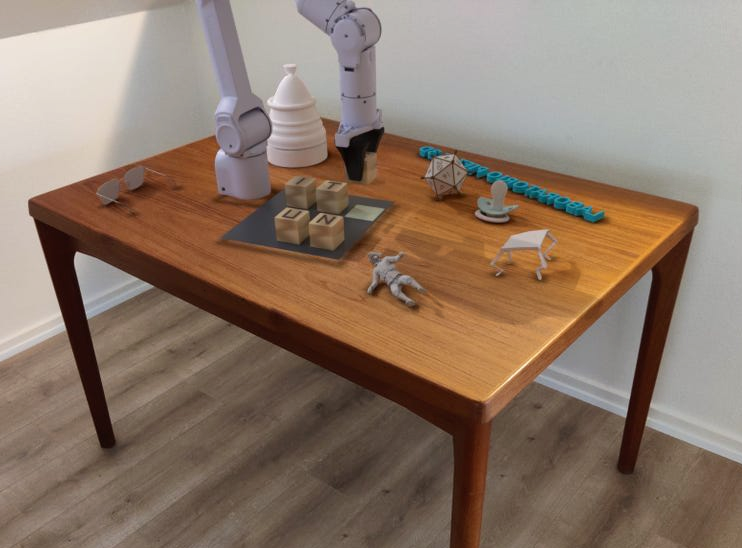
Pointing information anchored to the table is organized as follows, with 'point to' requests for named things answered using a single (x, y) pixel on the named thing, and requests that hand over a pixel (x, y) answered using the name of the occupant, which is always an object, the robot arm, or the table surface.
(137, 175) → the eyeglasses
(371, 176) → the block
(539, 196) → the text ornament
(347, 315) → the table surface
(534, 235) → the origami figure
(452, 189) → the game die
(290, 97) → the honey pot
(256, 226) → the letter board
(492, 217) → the pacifier
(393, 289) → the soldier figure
